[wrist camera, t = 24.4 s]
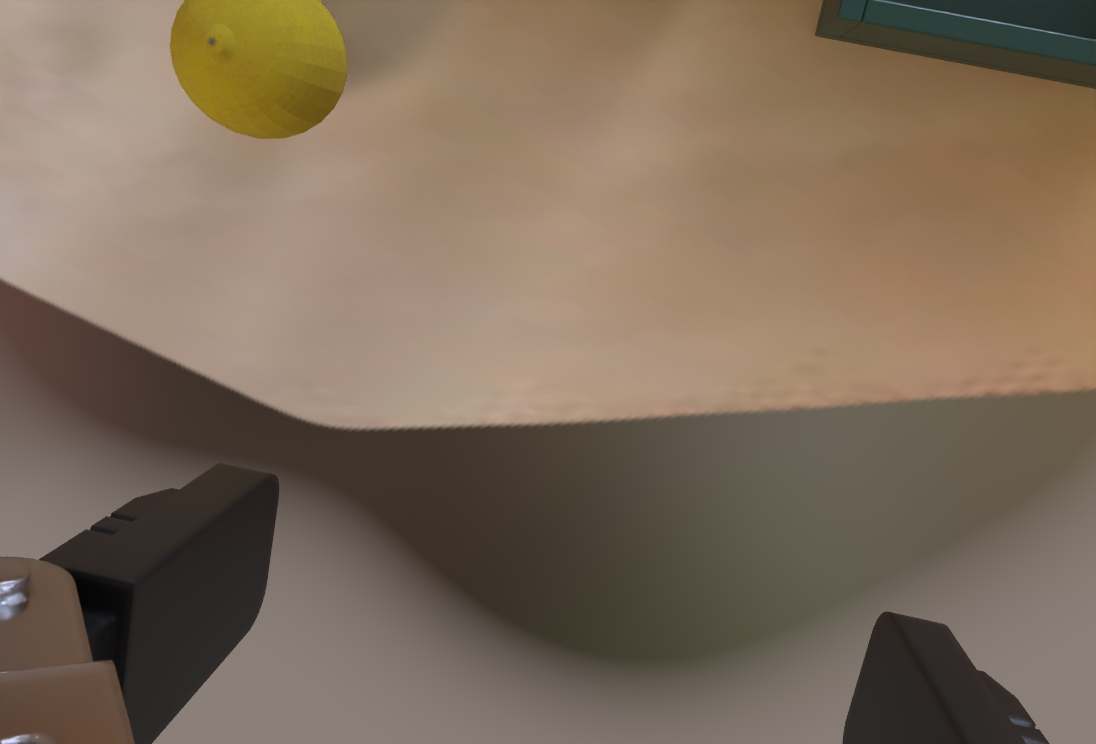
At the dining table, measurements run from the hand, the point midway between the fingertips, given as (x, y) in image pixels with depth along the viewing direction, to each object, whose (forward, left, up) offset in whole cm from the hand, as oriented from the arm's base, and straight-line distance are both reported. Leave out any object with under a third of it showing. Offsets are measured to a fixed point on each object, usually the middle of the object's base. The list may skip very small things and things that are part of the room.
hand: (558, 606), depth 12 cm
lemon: (-14, +7, -26) cm, 31 cm away
